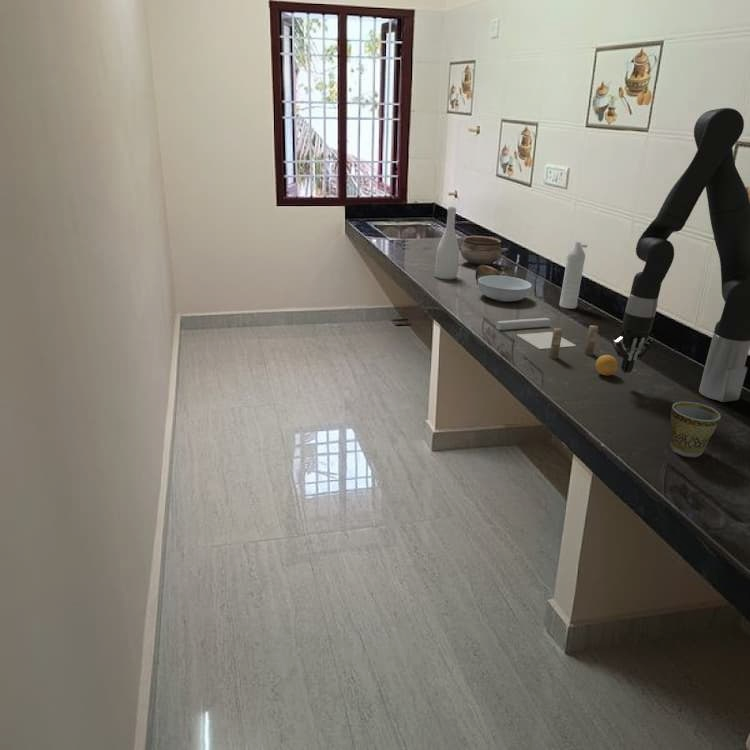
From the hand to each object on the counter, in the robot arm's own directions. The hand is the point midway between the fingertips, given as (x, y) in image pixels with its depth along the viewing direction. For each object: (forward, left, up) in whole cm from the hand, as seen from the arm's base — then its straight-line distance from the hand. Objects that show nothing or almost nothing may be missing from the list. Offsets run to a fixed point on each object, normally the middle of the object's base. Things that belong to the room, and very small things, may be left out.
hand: (626, 371), depth 186 cm
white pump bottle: (+70, -32, -5) cm, 77 cm away
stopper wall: (+52, 0, -4) cm, 52 cm away
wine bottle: (+121, -4, -5) cm, 121 cm away
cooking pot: (+140, -31, -5) cm, 144 cm away
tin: (+104, -15, -5) cm, 106 cm away
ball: (+8, 0, -1) cm, 8 cm away
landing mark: (+38, 0, -4) cm, 39 cm away
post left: (+24, +6, -4) cm, 25 cm away
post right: (+24, -7, -4) cm, 26 cm away
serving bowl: (+86, -12, -5) cm, 87 cm away
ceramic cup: (-35, +10, -5) cm, 36 cm away
